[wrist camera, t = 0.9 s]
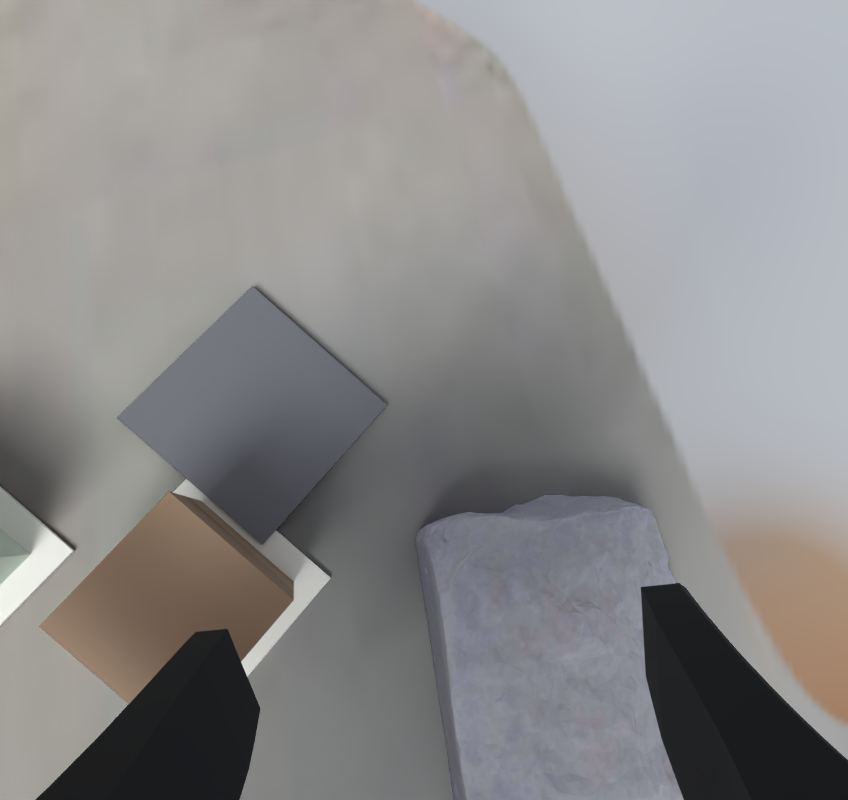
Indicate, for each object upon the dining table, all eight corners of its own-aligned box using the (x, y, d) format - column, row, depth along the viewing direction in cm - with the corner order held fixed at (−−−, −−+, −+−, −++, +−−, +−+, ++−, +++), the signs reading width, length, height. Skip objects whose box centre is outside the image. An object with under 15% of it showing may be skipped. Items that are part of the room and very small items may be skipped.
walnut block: (205, 684, 23) (172, 741, 17) (107, 599, 23) (39, 626, 17) (293, 581, 25) (293, 600, 18) (201, 500, 24) (169, 491, 18)
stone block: (597, 482, 30) (387, 521, 26) (674, 474, 25) (437, 521, 21) (650, 760, 28) (438, 847, 24) (743, 803, 24) (502, 918, 20)
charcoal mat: (262, 544, 25) (262, 544, 24) (119, 419, 25) (116, 417, 24) (385, 406, 27) (387, 405, 26) (253, 289, 26) (252, 286, 26)
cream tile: (207, 723, 23) (206, 725, 23) (67, 603, 23) (65, 604, 23) (330, 577, 25) (330, 577, 25) (200, 464, 25) (200, 463, 25)
